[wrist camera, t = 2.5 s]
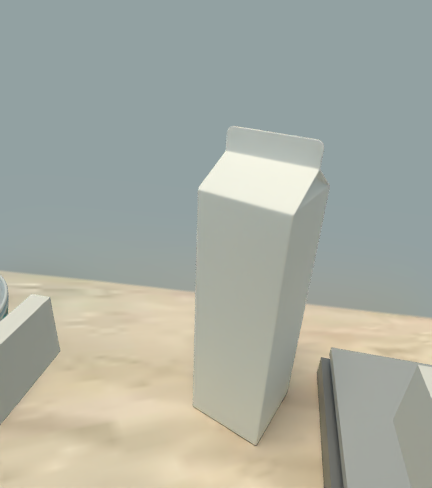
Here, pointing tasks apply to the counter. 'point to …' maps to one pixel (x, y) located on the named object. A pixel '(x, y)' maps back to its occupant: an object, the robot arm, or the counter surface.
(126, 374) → the counter surface
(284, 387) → the milk
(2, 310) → the chinaware
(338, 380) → the kitchen scale
